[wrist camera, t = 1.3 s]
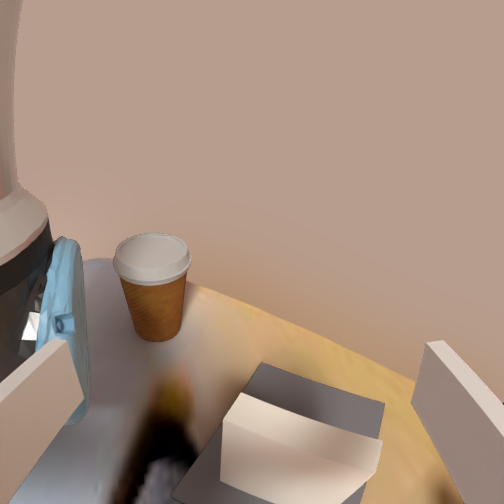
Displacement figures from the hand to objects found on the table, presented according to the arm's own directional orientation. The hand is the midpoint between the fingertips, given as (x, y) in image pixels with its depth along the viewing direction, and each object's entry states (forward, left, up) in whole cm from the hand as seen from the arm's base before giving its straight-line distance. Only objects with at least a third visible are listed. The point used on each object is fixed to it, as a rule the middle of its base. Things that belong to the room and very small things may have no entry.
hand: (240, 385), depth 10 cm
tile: (+3, +5, -21) cm, 21 cm away
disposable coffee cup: (-20, +19, -22) cm, 35 cm away
